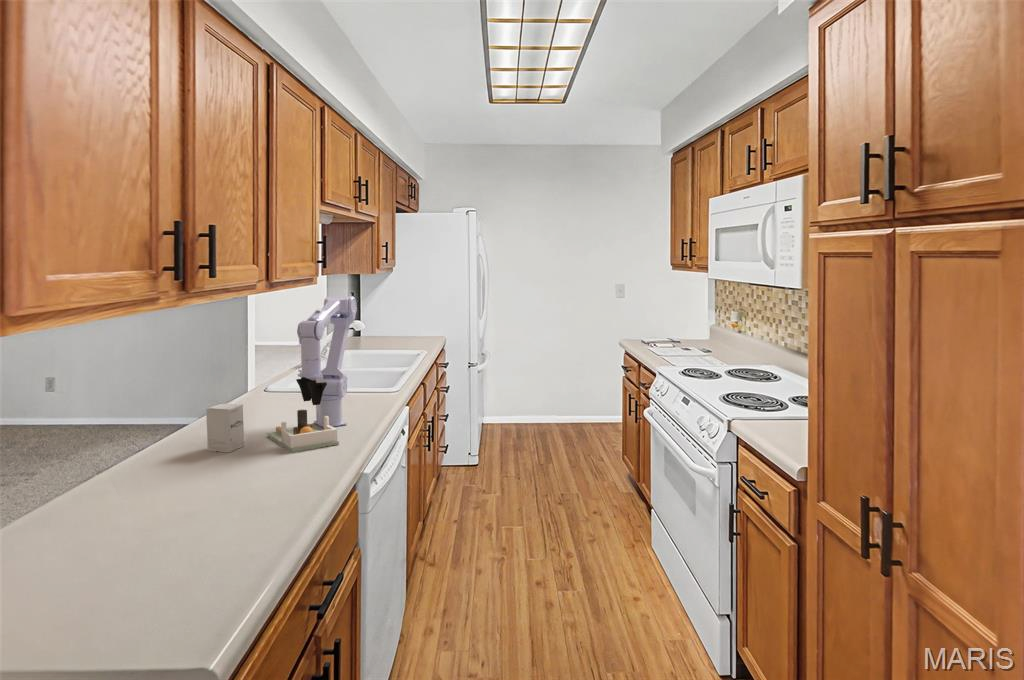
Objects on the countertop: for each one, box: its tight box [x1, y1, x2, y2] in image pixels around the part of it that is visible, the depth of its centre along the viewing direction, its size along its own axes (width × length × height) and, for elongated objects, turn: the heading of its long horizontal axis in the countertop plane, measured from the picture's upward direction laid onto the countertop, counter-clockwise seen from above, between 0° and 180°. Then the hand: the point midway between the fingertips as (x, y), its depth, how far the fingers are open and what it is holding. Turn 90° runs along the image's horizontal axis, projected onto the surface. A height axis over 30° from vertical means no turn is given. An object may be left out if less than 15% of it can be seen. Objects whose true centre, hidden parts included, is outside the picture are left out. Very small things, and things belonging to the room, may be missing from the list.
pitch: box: [267, 416, 340, 453], centre depth 207 cm, size 22×14×7 cm, turn 37°
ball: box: [300, 427, 313, 434], centre depth 205 cm, size 4×4×4 cm
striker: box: [293, 409, 313, 435], centre depth 207 cm, size 3×5×8 cm, turn 127°
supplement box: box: [205, 403, 245, 453], centre depth 198 cm, size 7×7×13 cm
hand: (311, 402), depth 212 cm, fingers open, 7 cm apart
